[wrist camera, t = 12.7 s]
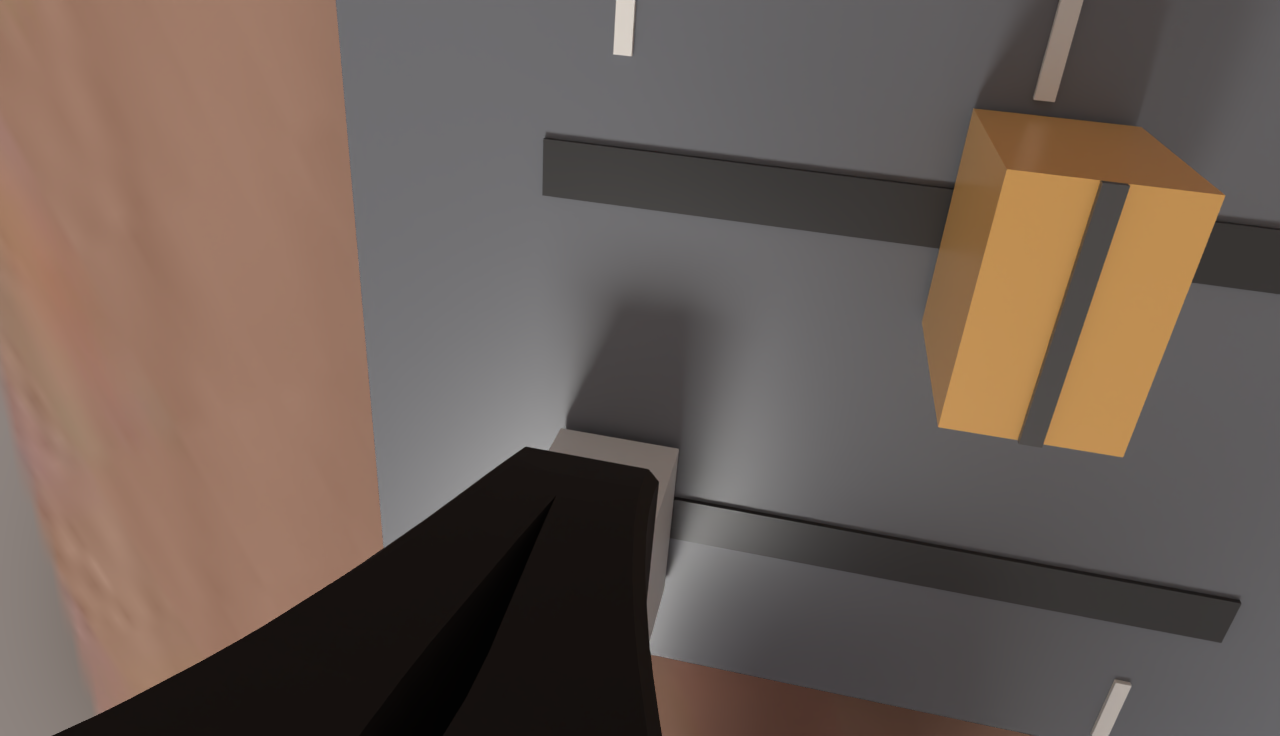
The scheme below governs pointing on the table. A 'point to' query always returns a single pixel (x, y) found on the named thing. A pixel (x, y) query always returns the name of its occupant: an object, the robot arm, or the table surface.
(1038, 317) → the orange fader
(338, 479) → the table surface
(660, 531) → the block
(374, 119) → the console
